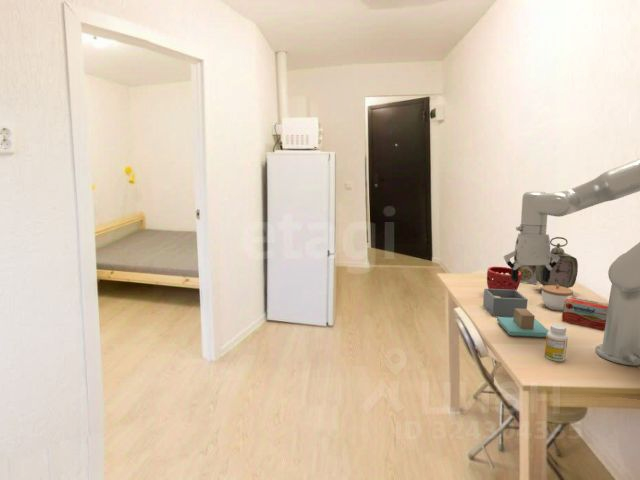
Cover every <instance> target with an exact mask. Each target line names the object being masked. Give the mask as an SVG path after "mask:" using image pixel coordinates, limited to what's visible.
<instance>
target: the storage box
mask: <svg viewBox="0 0 640 480" xmlns="http://www.w3.org/2000/svg"><path fill="white" fill-rule="evenodd" d="M528 302H529V301H528V298H527V297H525V296H524V295H523V294H522V293H520V292H519V291H518V289H517V290H508V289H489V288H484V292H483V301H482V304H483V305H482V306H483V307H484V309H485V310H487V312H488V313H489V315H491V317H509V318H514V308H518V309H527V310H528Z"/></svg>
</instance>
